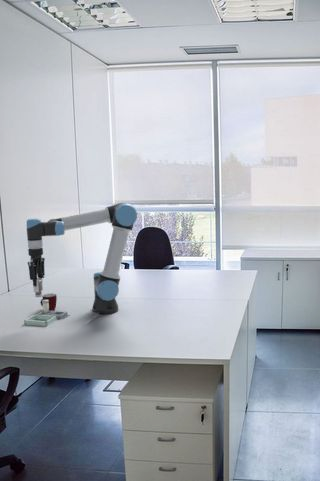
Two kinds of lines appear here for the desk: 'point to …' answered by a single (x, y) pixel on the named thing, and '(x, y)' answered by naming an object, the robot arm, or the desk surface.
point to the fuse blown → (39, 294)
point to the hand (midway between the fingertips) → (38, 290)
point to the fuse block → (56, 314)
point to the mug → (50, 301)
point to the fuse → (45, 306)
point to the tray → (32, 321)
